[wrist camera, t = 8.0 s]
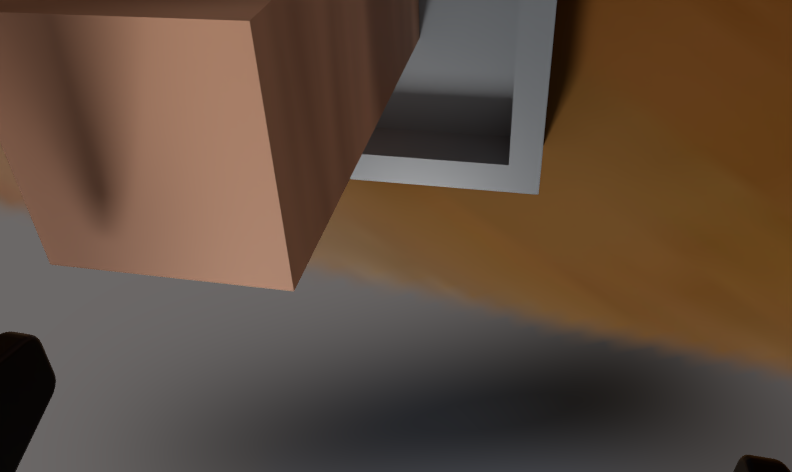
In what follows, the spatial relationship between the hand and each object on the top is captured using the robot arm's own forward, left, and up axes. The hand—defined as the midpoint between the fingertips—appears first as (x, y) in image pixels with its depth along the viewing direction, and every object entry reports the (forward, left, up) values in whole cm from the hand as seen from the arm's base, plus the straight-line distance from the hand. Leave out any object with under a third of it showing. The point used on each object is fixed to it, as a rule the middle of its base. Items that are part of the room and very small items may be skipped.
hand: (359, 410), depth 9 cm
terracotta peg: (+3, -2, -12) cm, 12 cm away
